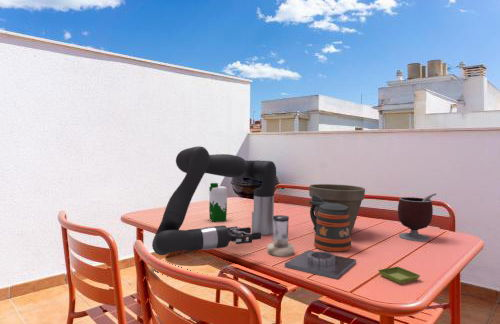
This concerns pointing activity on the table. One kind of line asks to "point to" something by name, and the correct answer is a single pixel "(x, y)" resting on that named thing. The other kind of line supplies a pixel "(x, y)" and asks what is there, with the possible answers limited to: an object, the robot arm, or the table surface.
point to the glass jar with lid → (280, 231)
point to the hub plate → (321, 269)
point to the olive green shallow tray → (399, 274)
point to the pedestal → (280, 250)
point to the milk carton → (217, 202)
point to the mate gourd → (415, 216)
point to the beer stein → (330, 225)
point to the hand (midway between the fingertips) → (255, 232)
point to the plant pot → (340, 197)
